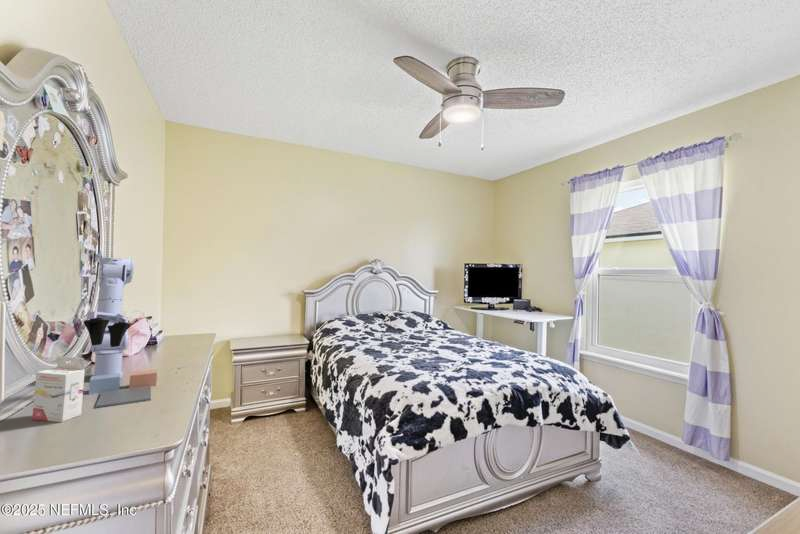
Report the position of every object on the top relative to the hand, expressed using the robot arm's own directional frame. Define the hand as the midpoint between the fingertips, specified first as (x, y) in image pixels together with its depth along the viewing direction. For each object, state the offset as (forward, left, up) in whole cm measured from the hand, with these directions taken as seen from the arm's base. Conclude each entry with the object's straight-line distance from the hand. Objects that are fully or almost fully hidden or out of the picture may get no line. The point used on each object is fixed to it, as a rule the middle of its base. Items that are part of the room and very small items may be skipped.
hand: (106, 345), depth 101 cm
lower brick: (-6, 0, -15) cm, 16 cm away
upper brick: (-6, +10, -15) cm, 19 cm away
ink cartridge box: (+14, -7, -15) cm, 22 cm away
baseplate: (+4, +5, -15) cm, 16 cm away
